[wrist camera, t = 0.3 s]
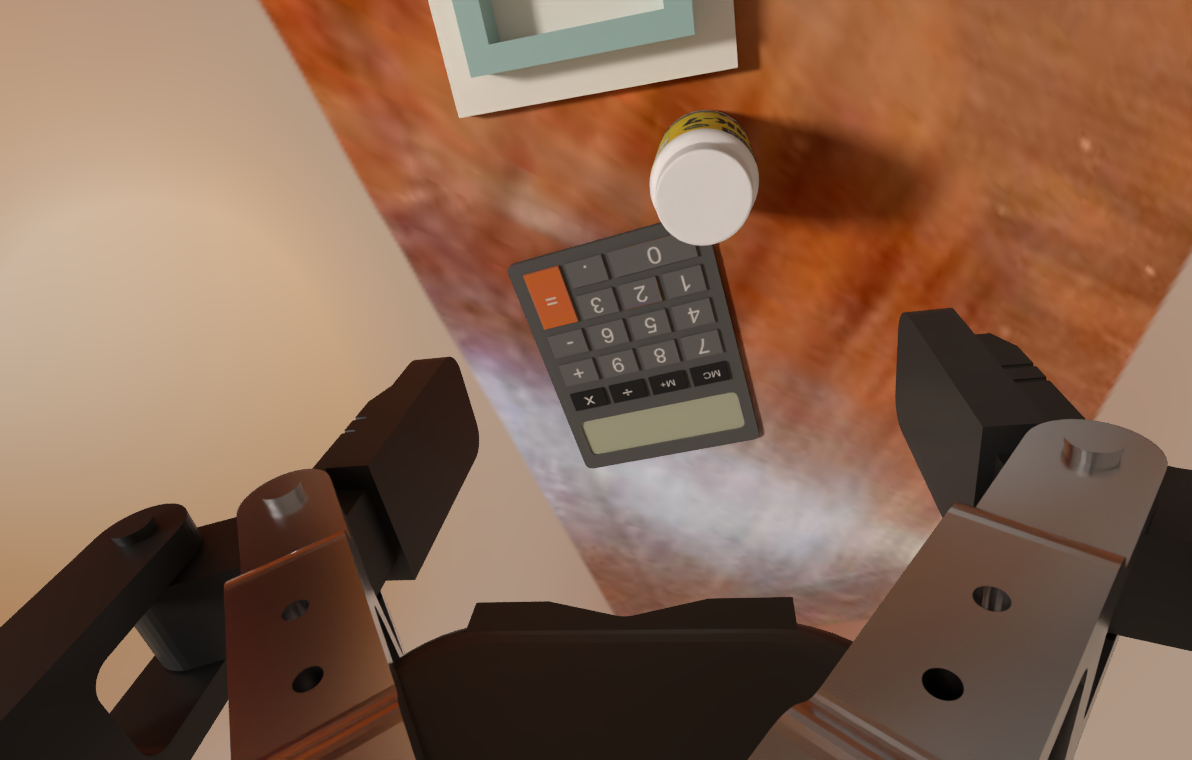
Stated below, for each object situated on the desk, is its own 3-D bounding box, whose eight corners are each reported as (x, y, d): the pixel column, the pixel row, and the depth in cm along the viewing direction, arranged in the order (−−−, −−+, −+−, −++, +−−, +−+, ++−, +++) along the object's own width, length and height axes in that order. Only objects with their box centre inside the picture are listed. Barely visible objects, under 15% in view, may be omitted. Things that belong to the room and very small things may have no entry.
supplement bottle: (766, 126, 33) (785, 163, 26) (728, 215, 35) (736, 271, 28) (676, 94, 33) (669, 121, 26) (644, 185, 35) (630, 234, 28)
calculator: (703, 213, 35) (760, 440, 42) (703, 208, 36) (759, 431, 42) (504, 268, 38) (587, 471, 45) (508, 263, 39) (589, 462, 46)
